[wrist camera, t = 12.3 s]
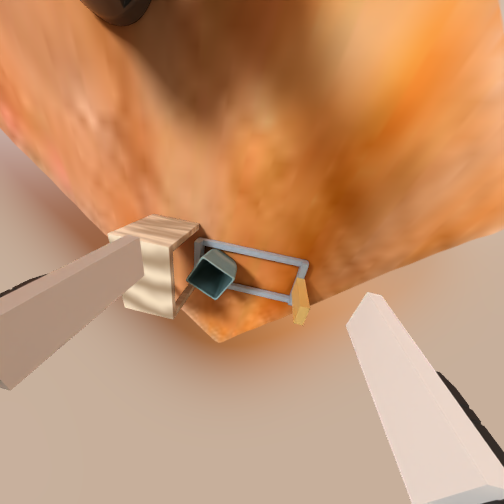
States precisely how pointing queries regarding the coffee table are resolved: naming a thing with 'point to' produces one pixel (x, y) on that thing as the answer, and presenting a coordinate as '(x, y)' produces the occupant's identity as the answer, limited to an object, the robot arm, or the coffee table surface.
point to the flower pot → (213, 273)
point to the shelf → (157, 264)
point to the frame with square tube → (296, 298)
